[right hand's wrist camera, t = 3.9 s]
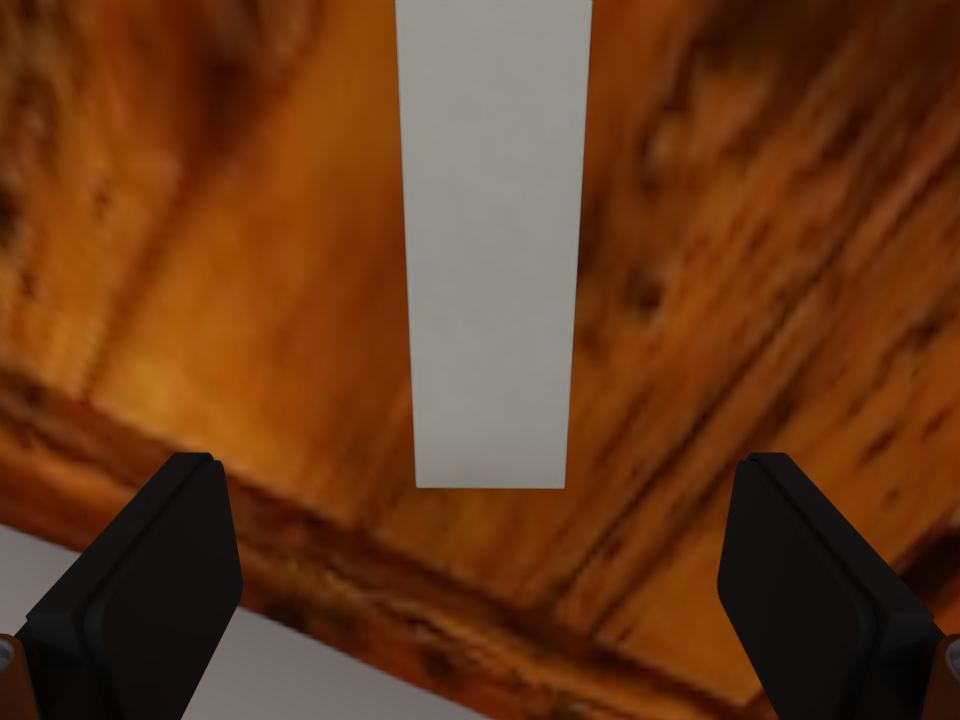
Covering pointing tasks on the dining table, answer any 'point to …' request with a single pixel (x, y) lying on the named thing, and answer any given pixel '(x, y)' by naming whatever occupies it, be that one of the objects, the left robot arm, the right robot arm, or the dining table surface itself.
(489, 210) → the bar
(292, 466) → the dining table surface
